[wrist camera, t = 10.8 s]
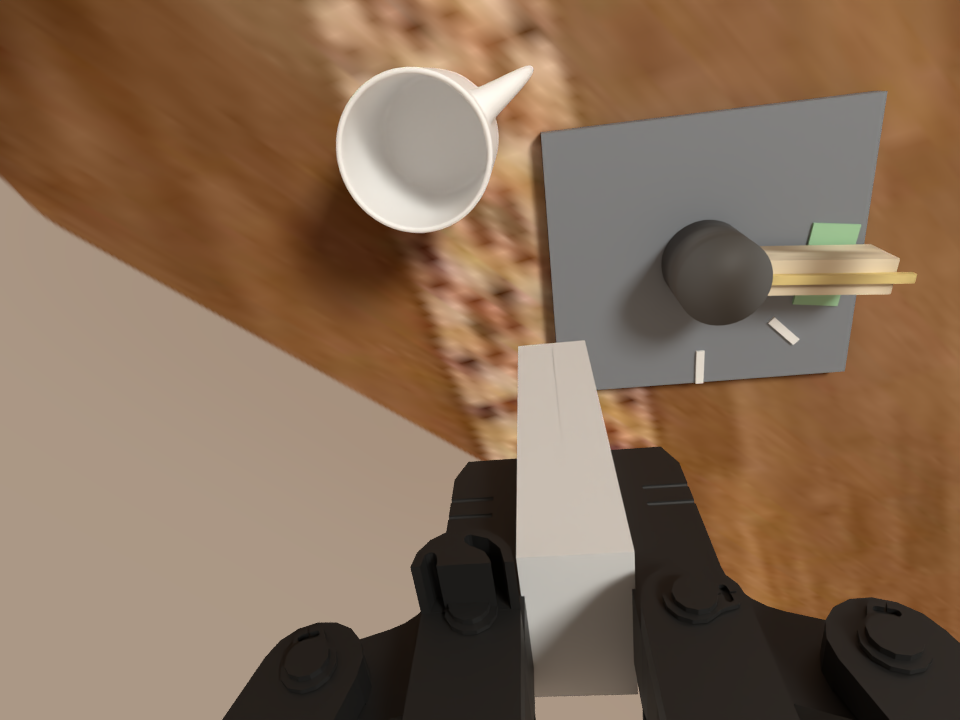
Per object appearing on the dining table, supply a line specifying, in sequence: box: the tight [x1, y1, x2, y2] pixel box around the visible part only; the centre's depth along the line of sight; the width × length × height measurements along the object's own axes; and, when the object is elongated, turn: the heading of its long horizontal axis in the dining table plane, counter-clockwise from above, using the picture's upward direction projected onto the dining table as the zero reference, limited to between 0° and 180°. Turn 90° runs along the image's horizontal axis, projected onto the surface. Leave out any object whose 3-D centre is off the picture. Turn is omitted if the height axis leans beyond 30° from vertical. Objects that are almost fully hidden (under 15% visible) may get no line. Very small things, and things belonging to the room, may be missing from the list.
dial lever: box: [661, 220, 917, 326], centre depth 41 cm, size 15×6×5 cm, turn 92°
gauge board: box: [541, 91, 887, 390], centre depth 44 cm, size 20×22×1 cm
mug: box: [336, 65, 533, 233], centre depth 37 cm, size 9×12×11 cm
